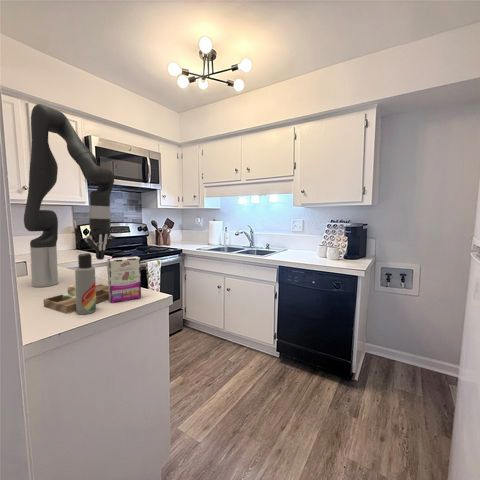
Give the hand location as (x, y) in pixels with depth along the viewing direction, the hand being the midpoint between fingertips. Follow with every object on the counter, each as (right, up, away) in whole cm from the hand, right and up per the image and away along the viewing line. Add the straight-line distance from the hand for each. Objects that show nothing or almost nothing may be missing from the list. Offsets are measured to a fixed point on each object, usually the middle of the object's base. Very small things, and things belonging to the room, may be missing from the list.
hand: (100, 259), depth 105 cm
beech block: (-4, -12, -8) cm, 15 cm away
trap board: (-1, -15, -8) cm, 17 cm away
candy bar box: (+12, -16, -5) cm, 20 cm away
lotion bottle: (+5, -17, -18) cm, 25 cm away
